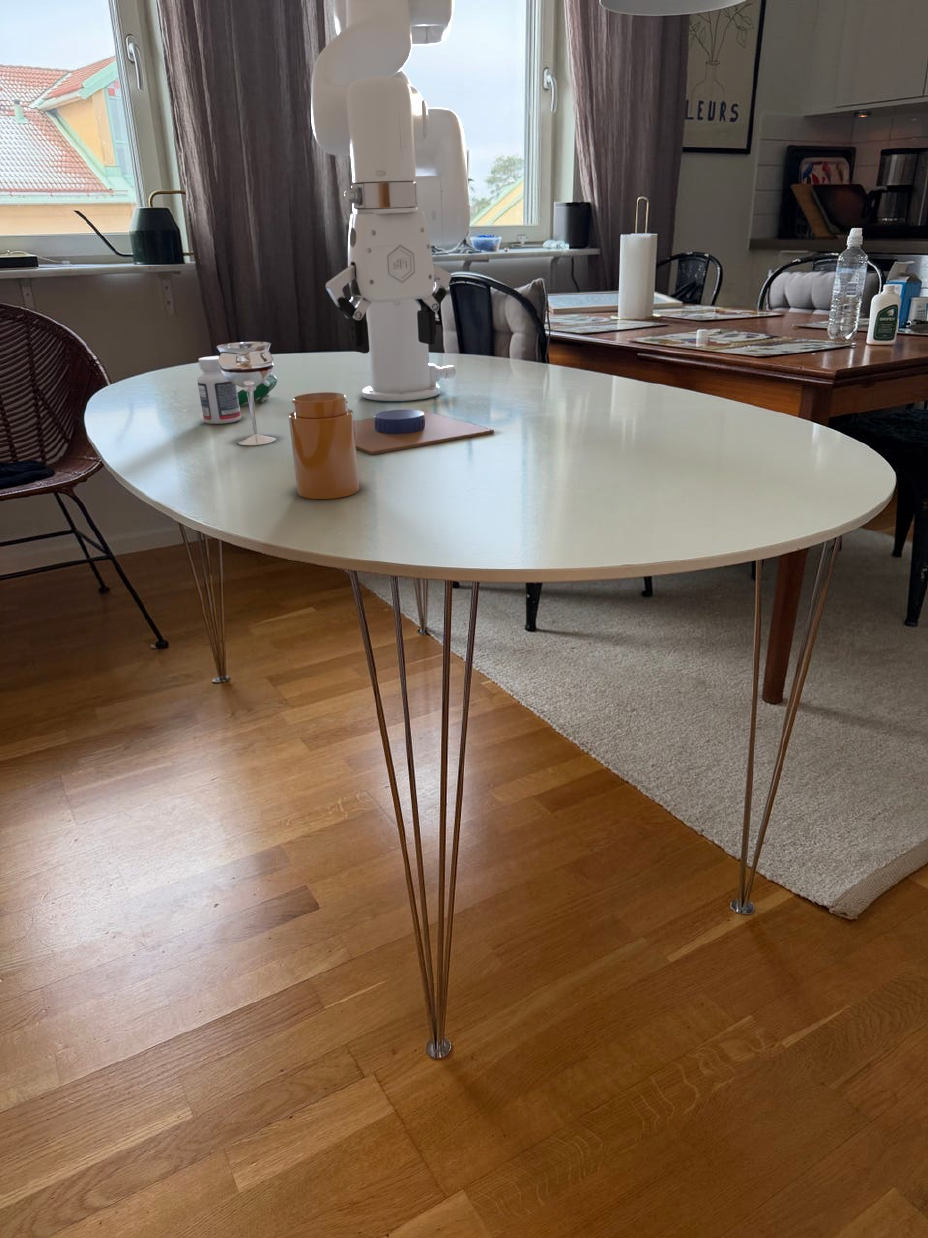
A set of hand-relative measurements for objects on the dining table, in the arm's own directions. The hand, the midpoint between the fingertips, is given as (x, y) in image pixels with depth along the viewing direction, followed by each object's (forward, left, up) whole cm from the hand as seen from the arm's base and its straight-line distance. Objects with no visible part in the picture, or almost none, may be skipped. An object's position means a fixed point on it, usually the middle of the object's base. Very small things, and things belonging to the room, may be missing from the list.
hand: (394, 347), depth 110 cm
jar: (+20, +21, -11) cm, 31 cm away
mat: (0, +1, -11) cm, 11 cm away
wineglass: (+17, -7, -11) cm, 22 cm away
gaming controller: (+6, -35, -11) cm, 38 cm away
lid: (0, +1, -9) cm, 9 cm away
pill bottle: (+16, -23, -11) cm, 31 cm away
